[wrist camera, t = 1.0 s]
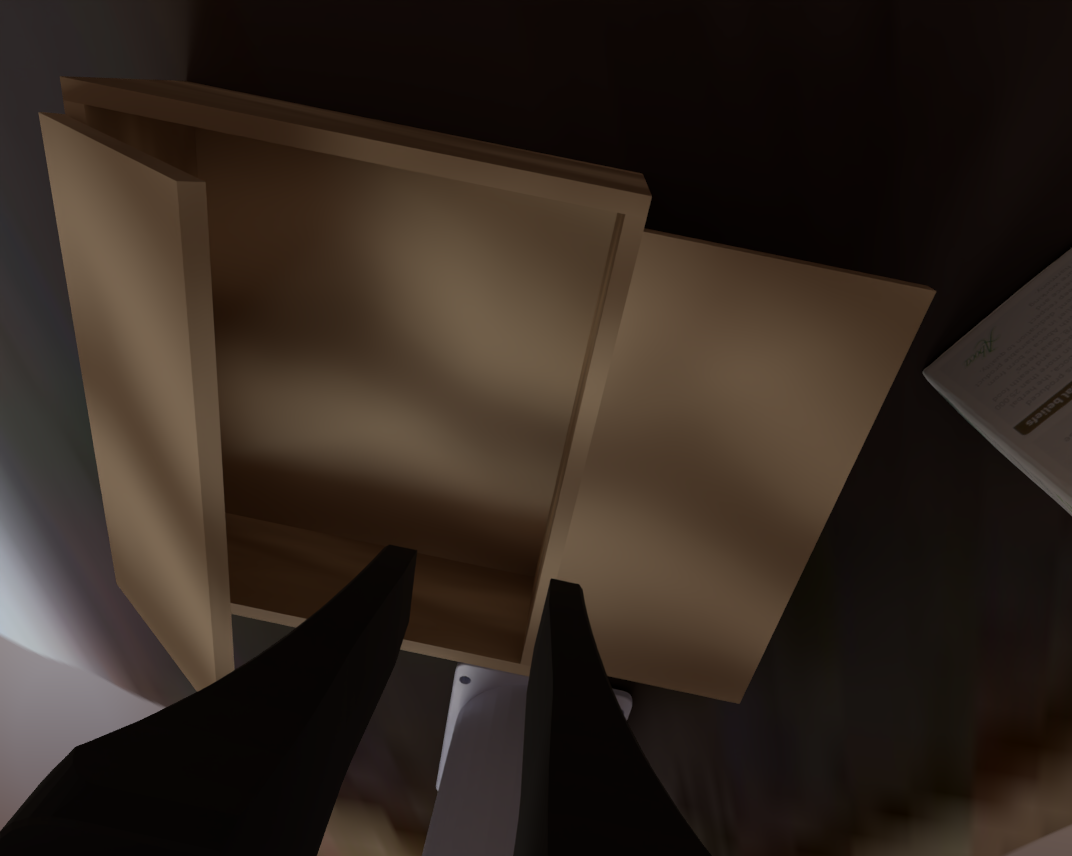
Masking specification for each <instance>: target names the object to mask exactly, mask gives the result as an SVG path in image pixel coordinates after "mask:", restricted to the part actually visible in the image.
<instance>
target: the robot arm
mask: <svg viewBox="0 0 1072 856" xmlns="http://www.w3.org/2000/svg"><path fill="white" fill-rule="evenodd" d="M416 558H417V550H414V549H409V548H404V547H399V546H395V545H390V544H389V545H388V546H386V547H384V548H383V549H382V550H381V551H380V552H379V553H378V554H377V556H376V557H375V558H374V559H373V560H372V561H371V562H370V563H369V564H368V565H367V566H366V567H365V568H364V569H363V570H362V571H361V572H360V573H359V574H358V575H357V576H356V577H355V578H354V579H353V580H351V581H350V582H349V583H348V584H347V585H346V586H345V587H344V588H343V589H342V590H341V591H339V592H338V593H337V594H336V595H335V596H334V597H333V598H332V599H330V600H329V601H328V602H327V603H326V604H325V605H324V606H322V607H321V608H320V609H319V610H318V611H316V612H315V613H314V614H313V615H311V616H310V617H309V618H308V619H306V620H305V621H304V622H303V623H301V624H300V625H299V626H298V627H296V628H295V629H294V630H293V631H291V632H290V633H289V634H287V635H286V636H285V637H283V638H282V639H280V640H279V641H278V642H276V643H275V644H274V645H272V646H271V647H269V648H268V649H266V650H265V651H263V652H262V653H260V654H259V655H257V656H256V657H254V658H253V659H251V660H250V661H248V662H247V663H245V664H244V665H242V666H240V667H239V668H237V669H235V670H234V671H232V672H231V673H229V674H227V675H226V676H224V677H222V678H221V679H219V680H217V681H216V682H214V683H212V684H210V685H209V686H207V687H205V688H203V689H201V690H200V691H198V692H196V693H194V694H192V695H190V696H188V697H186V698H184V699H182V700H180V701H178V702H176V703H174V704H172V705H170V706H168V707H166V708H164V709H162V710H160V711H159V712H157V713H155V714H152V715H150V716H148V717H146V718H144V719H142V720H140V721H137V722H135V723H133V724H130V725H128V726H126V727H123V728H121V729H119V730H116V731H113V732H111V733H109V734H106V735H104V736H101V737H99V738H97V739H94V740H92V741H89V742H87V743H84V744H82V745H79V746H76V747H75V748H74V749H73V750H72V751H71V752H70V753H69V755H67V756H66V757H65V758H64V759H63V760H62V761H61V762H60V763H59V764H58V765H57V766H56V767H55V768H54V769H53V770H52V771H51V772H50V774H48V776H46V778H45V779H44V780H43V781H42V782H41V783H40V784H39V785H38V787H37V788H36V789H35V790H34V792H33V793H32V794H31V795H30V796H29V797H28V799H27V800H26V801H25V802H24V803H23V805H22V806H21V807H20V808H19V810H18V811H17V812H16V813H15V814H14V816H13V817H12V818H11V819H10V820H9V821H8V823H7V824H6V825H5V826H4V827H3V829H2V830H1V831H0V856H317V854H318V851H319V848H320V845H321V842H322V839H323V836H324V833H325V830H326V827H327V824H328V822H329V819H330V816H331V813H332V810H333V807H334V805H335V802H336V799H337V796H338V793H339V790H340V787H341V785H342V782H343V780H344V777H345V775H346V772H347V770H348V767H349V765H350V762H351V760H352V758H353V756H354V754H355V751H356V749H357V747H358V745H359V743H360V740H361V738H362V736H363V734H364V732H365V730H366V727H367V725H368V723H369V721H370V719H371V716H372V714H373V712H374V710H375V708H376V706H377V703H378V701H379V699H380V697H381V695H382V692H383V690H384V688H385V686H386V684H387V681H388V679H389V677H390V675H391V672H392V670H393V668H394V666H395V663H396V660H397V657H398V654H399V651H400V648H401V645H402V642H403V639H404V636H405V633H406V629H407V626H408V623H409V618H410V610H411V601H412V592H413V584H414V575H415V566H416ZM464 676H467V677H464ZM631 708H632V697H631V695H630V694H629V693H628V692H625V691H622V690H617V689H612V686H611V684H610V681H609V679H608V676H607V674H606V671H605V668H604V665H603V663H602V660H601V657H600V654H599V651H598V648H597V645H596V642H595V639H594V636H593V632H592V629H591V625H590V622H589V618H588V614H587V610H586V605H585V600H584V594H583V589H582V588H581V586H580V585H579V584H576V583H571V582H567V581H562V580H557V579H552V578H551V579H550V583H549V587H548V592H547V596H546V600H545V604H544V608H543V612H542V616H541V620H540V624H539V629H538V633H537V637H536V641H535V645H534V650H533V656H532V662H531V668H530V674H529V676H524V675H519V674H515V673H510V672H505V671H500V670H496V669H491V668H486V667H481V666H477V665H472V664H467V663H463V662H458V663H457V666H456V670H455V676H454V682H453V688H452V694H451V700H450V706H449V712H448V718H447V724H446V730H445V736H444V742H443V747H442V753H441V759H440V765H439V771H438V777H437V783H436V789H437V790H438V794H437V798H436V802H435V806H434V810H433V814H432V818H431V822H430V826H429V830H428V834H427V838H426V842H425V846H424V850H423V854H422V856H711V854H710V853H709V852H708V850H707V849H706V848H705V847H704V845H703V844H702V843H701V841H700V840H699V839H698V837H697V836H696V834H695V833H694V832H693V830H692V829H691V827H690V826H689V825H688V823H687V822H686V820H685V819H684V818H683V816H682V815H681V813H680V812H679V810H678V809H677V807H676V805H675V804H674V802H673V801H672V799H671V798H670V796H669V794H668V793H667V791H666V790H665V788H664V787H663V785H662V783H661V782H660V780H659V779H658V777H657V776H656V774H655V773H654V771H653V769H652V767H651V766H650V764H649V762H648V760H647V758H646V757H645V755H644V753H643V751H642V750H641V748H640V746H639V744H638V742H637V740H636V738H635V736H634V734H633V732H632V730H631V729H630V727H629V725H628V722H627V719H628V716H629V714H630V711H631Z"/></svg>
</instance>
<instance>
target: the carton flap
mask: <svg viewBox="0 0 1072 856" xmlns="http://www.w3.org/2000/svg"><path fill="white" fill-rule="evenodd" d="M39 118H40V124H41V130H42V136H43V142H44V148H45V154H46V160H47V166H48V172H49V178H50V184H51V190H52V196H53V202H54V208H55V214H56V220H57V227H58V233H59V239H60V245H61V251H62V257H63V263H64V269H65V275H66V281H67V287H68V293H69V299H70V305H71V311H72V317H73V323H74V329H75V335H76V341H77V347H78V353H79V359H80V365H81V371H82V378H83V384H84V390H85V396H86V402H87V408H88V414H89V420H90V426H91V432H92V438H93V444H94V450H95V456H96V462H97V468H98V474H99V480H100V486H101V492H102V498H103V504H104V510H105V516H106V523H107V529H108V535H109V541H110V547H111V553H112V559H113V565H114V571H115V577H116V583H117V585H118V586H119V587H120V589H121V590H122V591H123V593H124V594H125V595H126V597H127V598H128V599H129V601H130V602H131V603H132V605H133V606H134V607H135V609H136V610H137V611H138V613H139V614H140V615H141V617H142V618H143V620H144V621H145V622H146V624H147V625H148V626H149V628H150V629H151V630H152V632H153V633H154V634H155V636H156V637H157V638H158V640H159V641H160V642H161V644H162V645H163V646H164V648H165V649H166V650H167V652H168V653H169V654H170V656H171V657H172V658H173V660H174V661H175V663H176V664H177V665H178V667H179V668H180V669H181V671H182V672H183V673H184V675H185V676H186V677H187V679H188V680H189V681H190V683H191V684H192V685H193V687H194V688H195V689H196V691H197V692H198V691H200V690H201V689H203V688H205V687H207V686H209V685H210V684H212V683H214V682H216V681H217V680H219V679H221V678H222V677H224V676H226V675H227V674H229V673H231V672H232V671H234V656H233V639H232V622H231V605H230V588H229V571H228V554H227V537H226V520H225V503H224V486H223V469H222V452H221V435H220V419H219V402H218V385H217V368H216V351H215V334H214V317H213V300H212V283H211V266H210V249H209V232H208V215H207V198H206V182H205V181H203V180H201V179H198V178H196V177H194V176H192V175H190V174H188V173H186V172H184V171H182V170H180V169H178V168H175V167H173V166H171V165H169V164H167V163H165V162H163V161H161V160H159V159H157V158H155V157H152V156H150V155H148V154H146V153H144V152H142V151H140V150H138V149H136V148H134V147H132V146H129V145H127V144H125V143H123V142H121V141H119V140H117V139H115V138H113V137H111V136H109V135H106V134H104V133H102V132H100V131H98V130H96V129H94V128H92V127H90V126H88V125H86V124H83V123H81V122H79V121H77V120H75V119H73V118H71V117H69V116H67V115H65V114H56V113H44V112H39Z"/></svg>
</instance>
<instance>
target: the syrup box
mask: <svg viewBox="0 0 1072 856" xmlns="http://www.w3.org/2000/svg"><path fill="white" fill-rule="evenodd" d="M923 375H924V376H925V378H926V379H927V381H928V382H929V383H930V384H931V385H932V386H933V387H934V388H935V389H936V390H937V391H938V392H939V393H940V394H941V395H942V396H943V397H944V398H945V399H946V400H947V401H948V402H949V403H950V404H951V405H952V406H953V407H954V408H955V409H956V410H957V411H958V412H959V413H960V414H961V415H962V416H963V417H964V418H965V419H966V420H967V421H968V422H969V423H970V424H971V425H972V426H973V427H974V428H975V429H976V430H977V431H978V432H979V433H981V434H982V435H983V436H984V437H985V438H986V439H987V440H988V441H989V442H990V443H991V444H992V445H993V446H994V447H995V448H997V449H998V450H999V451H1000V452H1001V453H1002V454H1003V455H1004V456H1005V457H1006V458H1008V459H1009V460H1010V461H1011V462H1012V463H1013V464H1014V465H1015V466H1016V467H1018V468H1019V469H1020V470H1021V471H1022V472H1023V473H1024V474H1025V475H1027V476H1028V477H1029V478H1030V479H1031V480H1032V481H1033V482H1035V483H1036V484H1037V485H1038V486H1039V487H1040V488H1041V489H1043V490H1044V491H1045V492H1046V493H1047V494H1048V495H1049V496H1050V497H1052V498H1053V499H1054V500H1055V501H1056V502H1057V503H1058V504H1059V505H1060V506H1062V507H1063V508H1064V509H1065V510H1066V511H1067V512H1068V513H1069V514H1070V515H1072V248H1071V249H1070V250H1068V251H1067V252H1066V253H1065V254H1063V255H1062V256H1061V257H1060V258H1058V259H1057V260H1056V261H1055V262H1053V263H1052V264H1050V265H1049V266H1048V267H1047V268H1046V269H1044V270H1043V271H1042V272H1041V273H1039V274H1038V275H1037V276H1035V277H1034V278H1033V279H1032V280H1030V281H1029V282H1028V283H1027V284H1025V285H1024V286H1023V287H1022V288H1021V289H1019V290H1018V291H1017V292H1016V293H1015V294H1013V295H1012V296H1011V297H1010V298H1009V299H1008V300H1006V301H1005V302H1004V303H1003V304H1001V305H1000V306H999V307H998V308H997V309H995V310H994V311H993V312H992V313H991V314H990V315H988V316H987V317H986V318H985V319H983V320H982V321H981V322H980V323H979V324H978V325H976V326H975V327H974V328H973V329H972V330H970V331H969V332H968V333H967V334H966V335H964V336H963V337H962V338H961V339H960V340H959V341H957V342H956V343H955V344H954V345H953V346H951V347H950V348H949V349H948V350H946V351H945V352H944V353H943V354H942V355H941V356H939V357H938V358H937V359H936V360H935V361H934V362H933V363H932V364H930V365H929V366H928V367H926V368H925V369H924V370H923Z"/></svg>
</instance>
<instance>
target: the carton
mask: <svg viewBox="0 0 1072 856" xmlns="http://www.w3.org/2000/svg"><path fill="white" fill-rule="evenodd" d="M60 81H61V88H62V94H63V101H64V108H65V115H67V116H69V117H71V118H73V119H75V120H77V121H79V122H81V123H83V124H86V125H88V126H90V127H92V128H94V129H96V130H98V131H100V132H102V133H104V134H106V135H109V136H111V137H113V138H115V139H117V140H119V141H121V142H123V143H125V144H127V145H129V146H132V147H134V148H136V149H138V150H140V151H142V152H144V153H146V154H148V155H150V156H152V157H155V158H157V159H159V160H161V161H163V162H165V163H167V164H169V165H171V166H173V167H175V168H178V169H180V170H182V171H184V172H186V173H188V174H190V175H192V176H194V177H196V178H198V179H201V180H203V181H205V182H206V198H207V215H208V232H209V249H210V266H211V283H212V300H213V317H214V334H215V351H216V368H217V385H218V402H219V419H220V435H221V452H222V469H223V486H224V503H225V520H226V537H227V554H228V571H229V588H230V605H231V614H235V615H240V616H245V617H249V618H254V619H259V620H264V621H268V622H273V623H278V624H283V625H287V626H292V627H298V626H299V625H300V624H301V623H303V622H304V621H305V620H306V619H308V618H309V617H310V616H311V615H313V614H314V613H315V612H316V611H318V610H319V609H320V608H321V607H322V606H324V605H325V604H326V603H327V602H328V601H329V600H330V599H332V598H333V597H334V596H335V595H336V594H337V593H338V592H339V591H341V590H342V589H343V588H344V587H345V586H346V585H347V584H348V583H349V582H350V581H351V580H353V579H354V578H355V577H356V576H357V575H358V574H359V573H360V572H361V571H362V570H363V569H364V568H365V567H366V566H367V565H368V564H369V563H370V562H371V561H372V560H373V559H374V558H375V557H376V556H377V554H378V553H379V552H380V551H381V550H382V549H383V548H384V547H386V546H388V545H389V544H390V545H395V546H399V547H404V548H409V549H414V550H417V558H416V566H415V575H414V584H413V592H412V601H411V610H410V618H409V623H408V626H407V629H406V633H405V636H404V639H403V642H402V645H401V648H400V649H401V650H406V651H410V652H415V653H420V654H425V655H429V656H434V657H439V658H444V659H448V660H453V661H458V662H463V663H467V664H472V665H477V666H481V667H486V668H491V669H496V670H500V671H505V672H510V673H515V674H519V675H524V676H529V674H530V668H531V662H532V656H533V650H534V645H535V641H536V637H537V633H538V629H539V624H540V620H541V616H542V612H543V608H544V604H545V600H546V596H547V592H548V587H549V583H550V579H551V578H552V579H557V580H562V581H567V582H571V583H576V584H579V585H580V586H581V588H582V589H583V594H584V600H585V605H586V610H587V614H588V618H589V622H590V625H591V629H592V632H593V636H594V639H595V642H596V645H597V648H598V651H599V654H600V657H601V660H602V663H603V665H604V668H605V671H606V674H607V676H610V677H615V678H620V679H625V680H629V681H634V682H639V683H644V684H648V685H653V686H658V687H662V688H667V689H672V690H677V691H681V692H686V693H691V694H696V695H700V696H705V697H710V698H715V699H719V700H724V701H729V702H734V703H738V704H740V701H741V699H742V697H743V695H744V693H745V691H746V689H747V687H748V685H749V683H750V681H751V678H752V676H753V674H754V672H755V670H756V668H757V666H758V664H759V662H760V660H761V657H762V655H763V653H764V651H765V649H766V647H767V645H768V643H769V641H770V639H771V637H772V634H773V632H774V630H775V628H776V626H777V624H778V622H779V620H780V618H781V616H782V613H783V611H784V609H785V607H786V605H787V603H788V601H789V599H790V597H791V595H792V593H793V590H794V588H795V586H796V584H797V582H798V580H799V578H800V576H801V574H802V572H803V570H804V567H805V565H806V563H807V561H808V559H809V557H810V555H811V553H812V551H813V549H814V546H815V544H816V542H817V540H818V538H819V536H820V534H821V532H822V530H823V528H824V526H825V523H826V521H827V519H828V517H829V515H830V513H831V511H832V509H833V507H834V505H835V502H836V500H837V498H838V496H839V494H840V492H841V490H842V488H843V486H844V484H845V482H846V479H847V477H848V475H849V473H850V471H851V469H852V467H853V465H854V463H855V461H856V458H857V456H858V454H859V452H860V450H861V448H862V446H863V444H864V442H865V440H866V438H867V435H868V433H869V431H870V429H871V427H872V425H873V423H874V421H875V419H876V417H877V414H878V412H879V410H880V408H881V406H882V404H883V402H884V400H885V398H886V396H887V394H888V391H889V389H890V387H891V385H892V383H893V381H894V379H895V377H896V375H897V373H898V371H899V368H900V366H901V364H902V362H903V360H904V358H905V356H906V354H907V352H908V350H909V347H910V345H911V343H912V341H913V339H914V337H915V335H916V333H917V331H918V329H919V327H920V324H921V322H922V320H923V318H924V316H925V314H926V312H927V310H928V308H929V306H930V303H931V301H932V299H933V297H934V295H935V293H936V291H935V290H934V289H932V288H930V287H928V286H926V285H921V284H916V283H911V282H907V281H902V280H897V279H892V278H887V277H882V276H877V275H872V274H867V273H862V272H857V271H852V270H847V269H843V268H838V267H833V266H828V265H823V264H818V263H813V262H808V261H803V260H798V259H793V258H788V257H784V256H779V255H774V254H769V253H764V252H759V251H754V250H749V249H744V248H739V247H734V246H729V245H725V244H720V243H715V242H710V241H705V240H700V239H695V238H690V237H685V236H680V235H675V234H670V233H666V232H661V231H656V230H651V229H646V228H644V227H645V223H646V219H647V215H648V211H649V207H650V203H651V199H652V195H651V193H650V190H649V188H648V185H647V183H646V180H645V178H644V176H643V174H642V173H637V172H632V171H627V170H622V169H617V168H613V167H608V166H603V165H598V164H593V163H588V162H583V161H578V160H573V159H568V158H563V157H558V156H553V155H548V154H543V153H538V152H533V151H529V150H524V149H519V148H514V147H509V146H504V145H499V144H494V143H489V142H484V141H479V140H474V139H469V138H464V137H459V136H454V135H449V134H445V133H440V132H435V131H430V130H425V129H420V128H415V127H410V126H405V125H400V124H395V123H390V122H385V121H380V120H375V119H370V118H366V117H361V116H356V115H351V114H346V113H341V112H336V111H331V110H326V109H321V108H316V107H311V106H306V105H301V104H296V103H291V102H286V101H282V100H277V99H272V98H267V97H262V96H257V95H252V94H247V93H242V92H237V91H232V90H227V89H222V88H217V87H212V86H207V85H203V84H198V83H193V82H188V81H171V80H144V79H117V78H91V77H64V76H60Z"/></svg>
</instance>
